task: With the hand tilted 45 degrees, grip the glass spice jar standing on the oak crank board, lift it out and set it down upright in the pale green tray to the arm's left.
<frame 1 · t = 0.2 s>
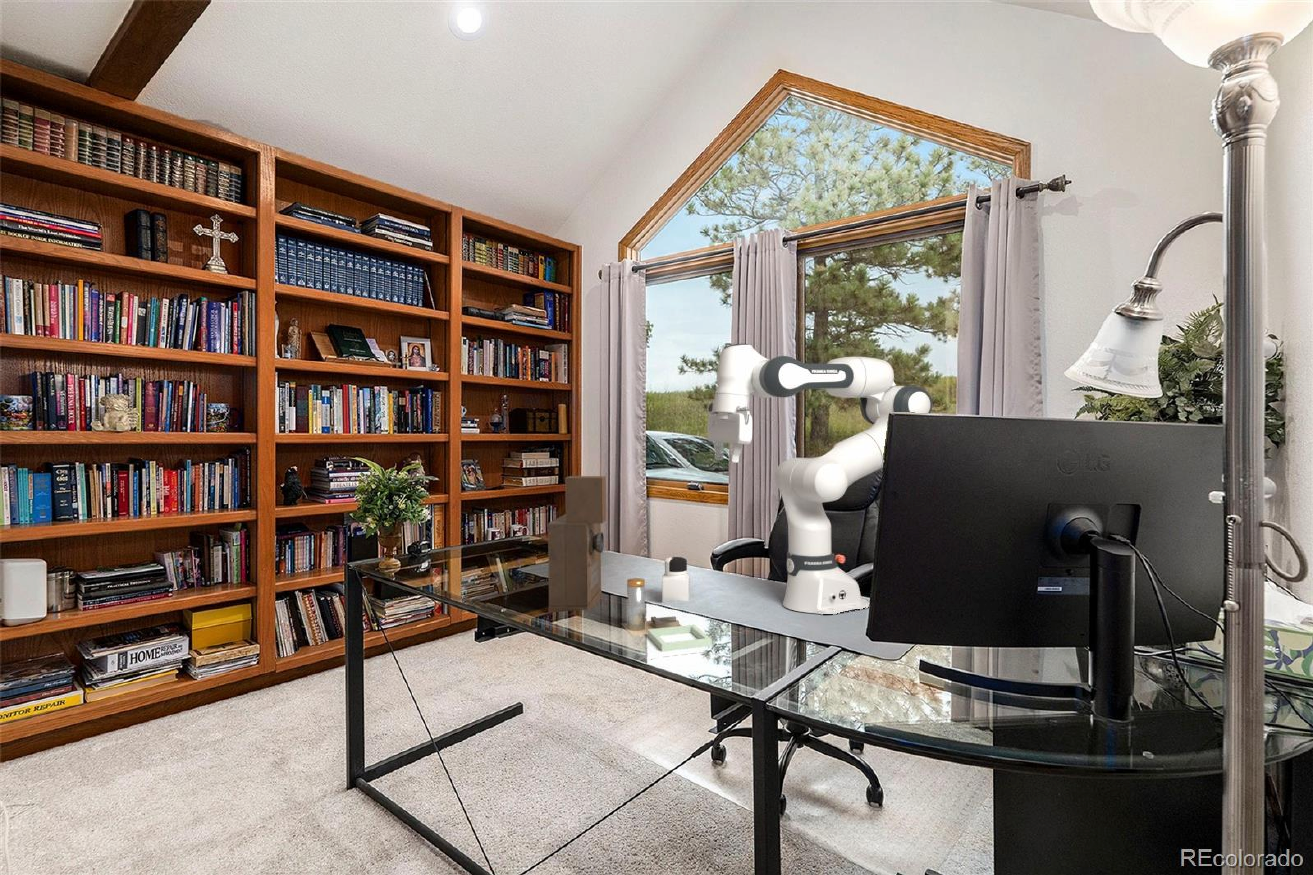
hand: (726, 461, 167), 39 cm above the table, tool pointing down, fingers open, 8 cm apart
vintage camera: (578, 606, 178), on the table
glass spice jar: (636, 628, 152), point 1 cm above the table, touching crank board
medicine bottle: (676, 602, 180), on the table
tray: (679, 646, 143), on the table
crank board: (653, 631, 154), on the table
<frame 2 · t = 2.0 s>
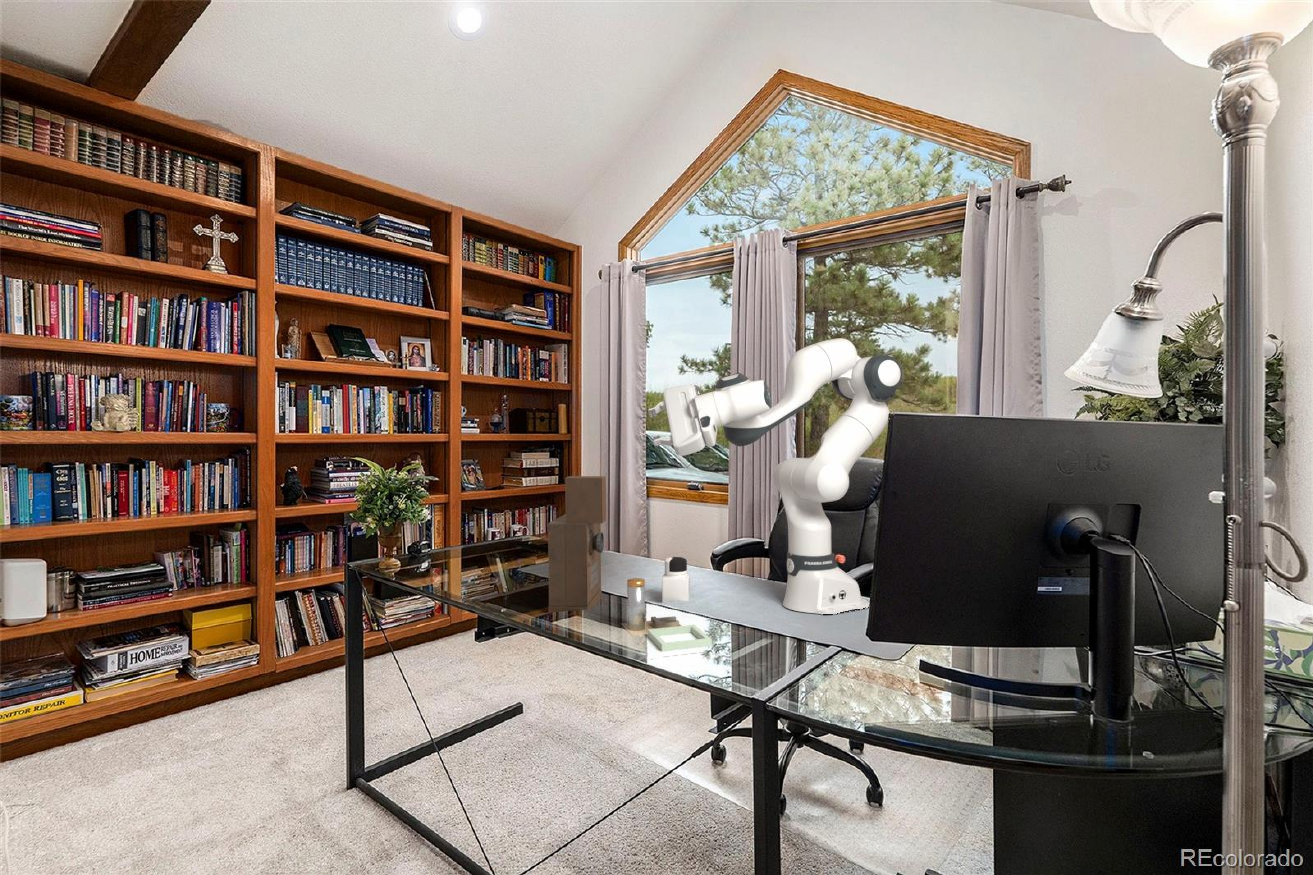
hand: (651, 427, 162), 48 cm above the table, tool horizontal, fingers open, 8 cm apart
nothing on the table moved.
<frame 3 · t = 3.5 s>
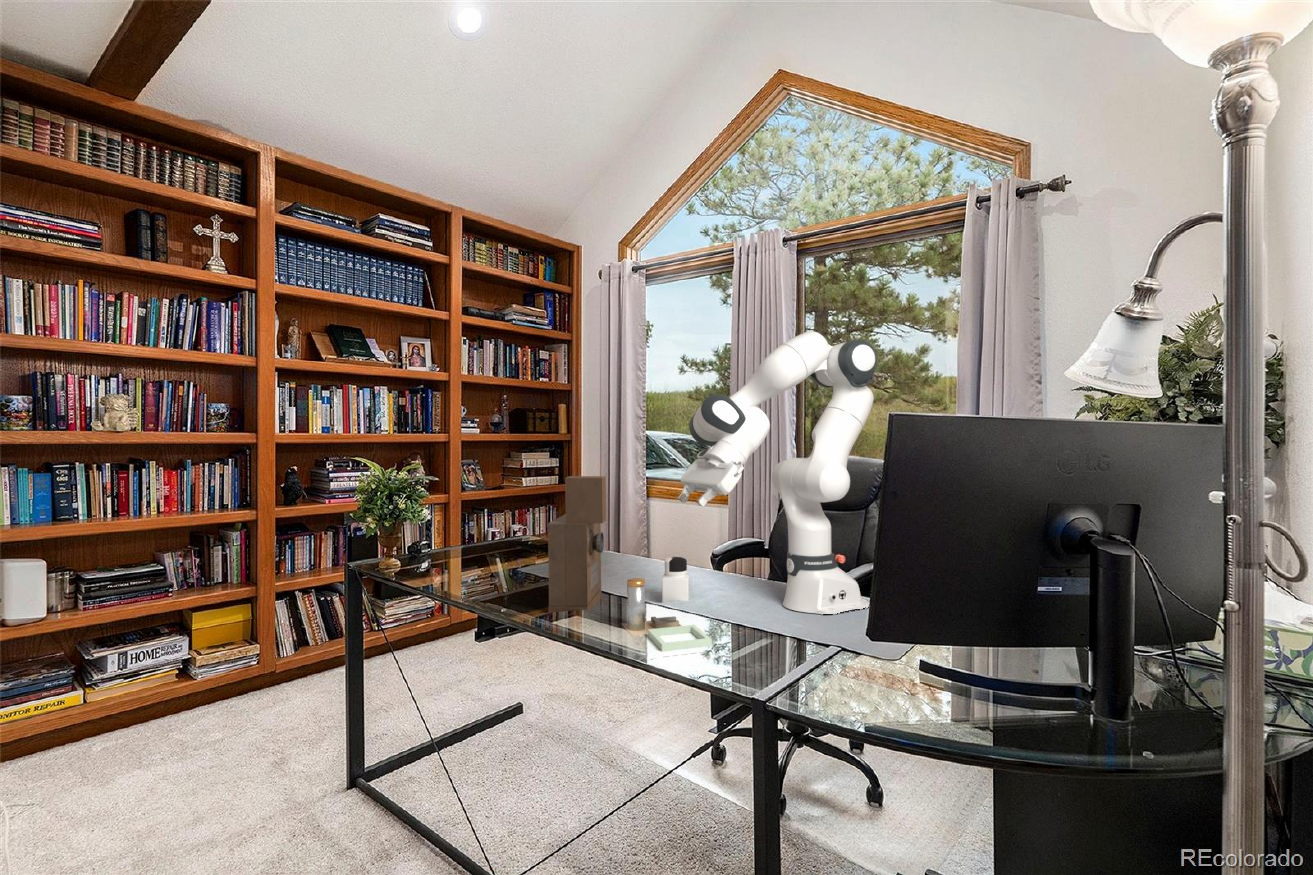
hand: (689, 502, 160), 29 cm above the table, tool tilted 45°, fingers open, 8 cm apart
nothing on the table moved.
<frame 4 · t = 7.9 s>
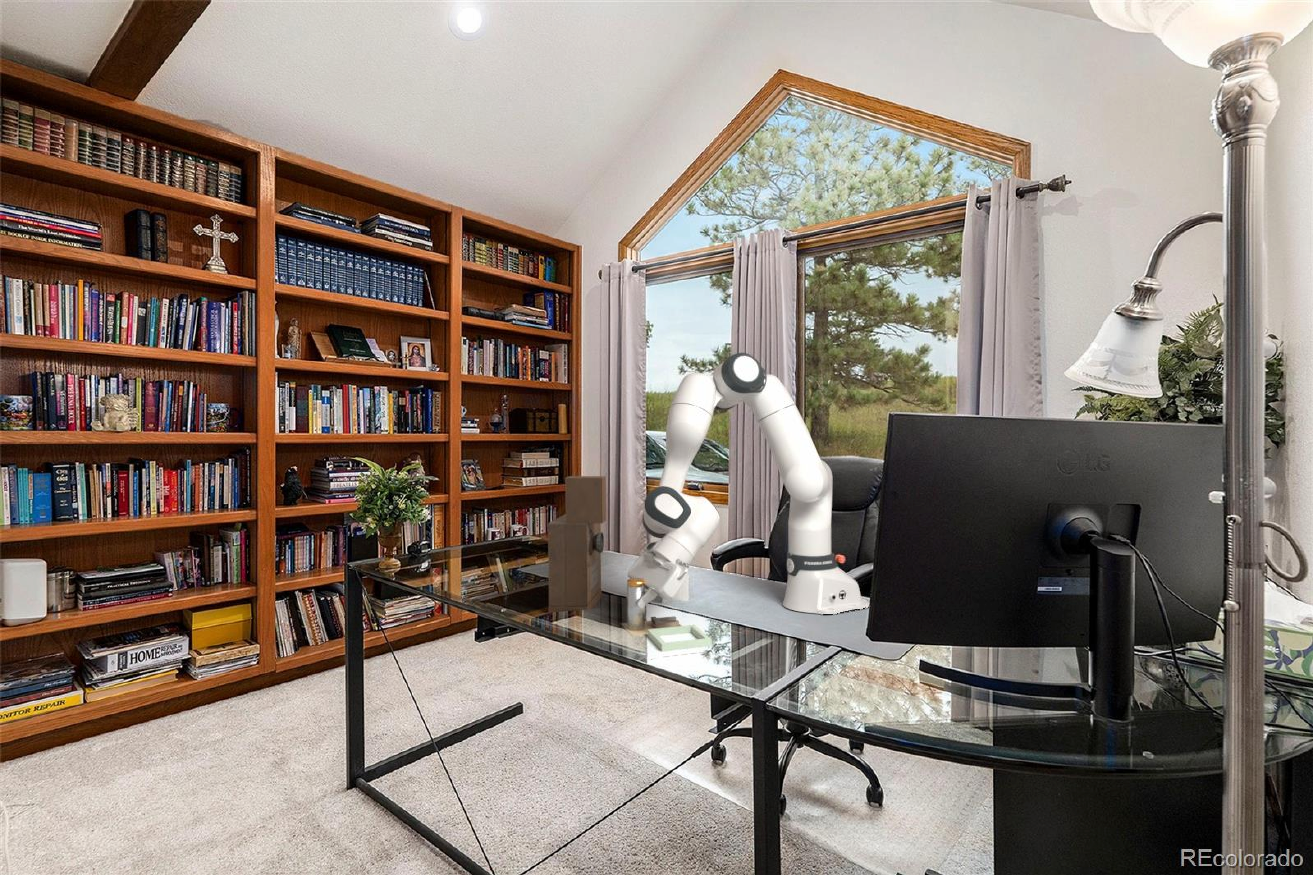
hand: (633, 603, 152), 7 cm above the table, tool tilted 45°, fingers closed on glass spice jar, 4 cm apart
glass spice jar: (636, 628, 152), point 1 cm above the table, touching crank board, gripper
everything else where it was.
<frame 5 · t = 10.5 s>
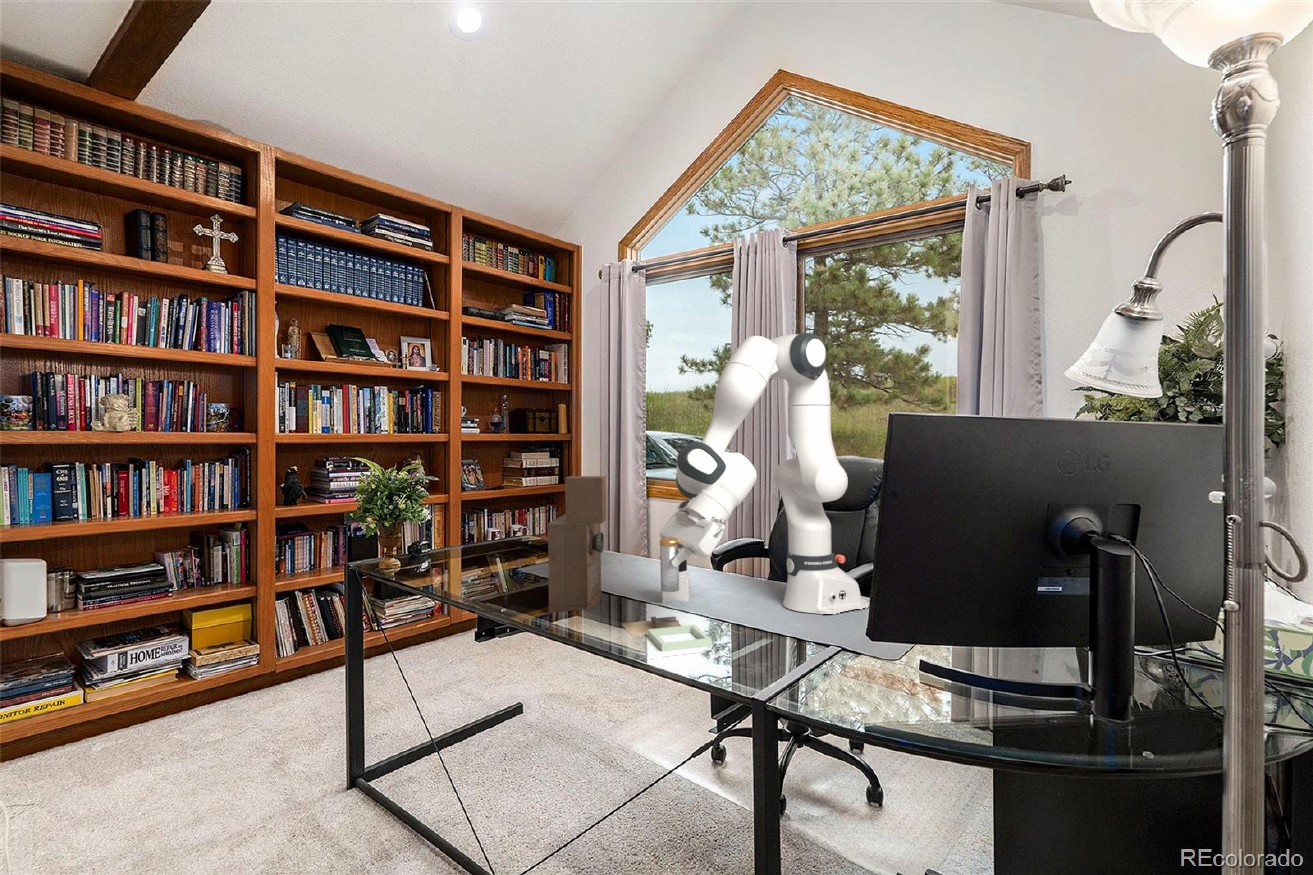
hand: (667, 562, 145), 18 cm above the table, tool tilted 45°, fingers closed on glass spice jar, 4 cm apart
glass spice jar: (670, 589, 145), point 12 cm above the table, touching gripper
everything else where it was.
when the fingers open (8 cm above the table, at t = 12.9 s): glass spice jar drops 1 cm, resting on tray.
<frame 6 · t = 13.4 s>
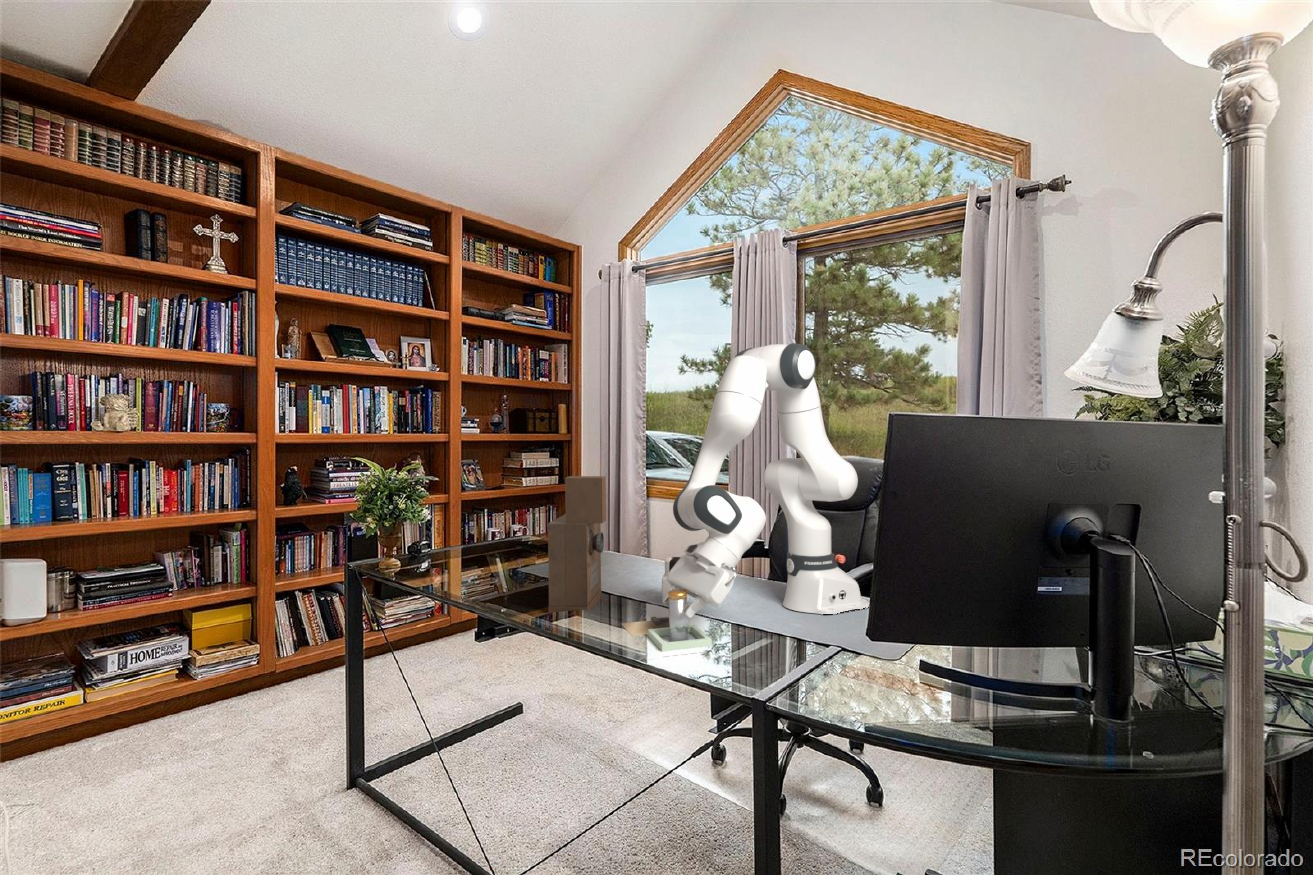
hand: (676, 610, 143), 8 cm above the table, tool tilted 45°, fingers open, 8 cm apart
glass spice jar: (679, 643, 143), point 1 cm above the table, touching tray
everything else where it was.
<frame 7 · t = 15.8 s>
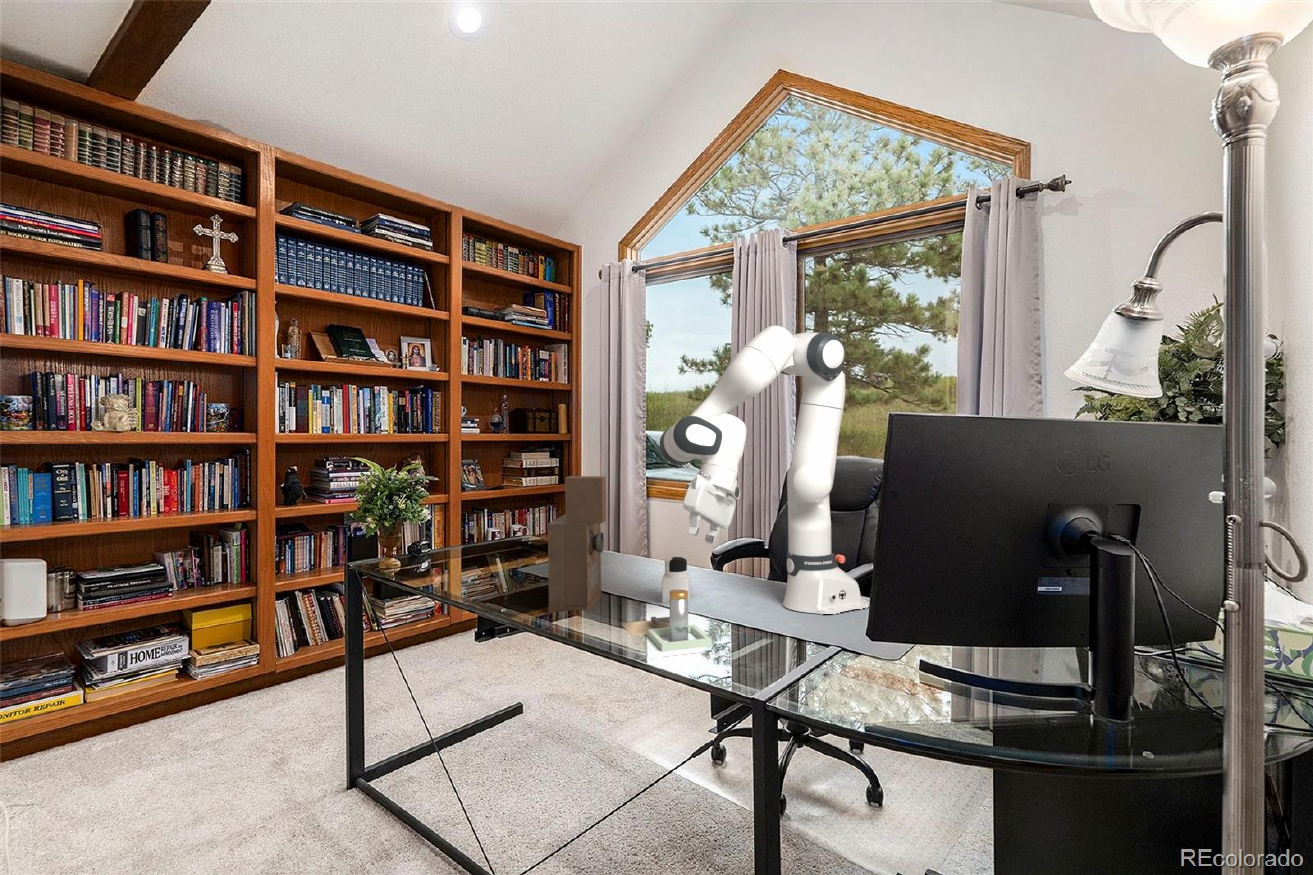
hand: (700, 538, 152), 22 cm above the table, tool tilted 20°, fingers open, 8 cm apart
nothing on the table moved.
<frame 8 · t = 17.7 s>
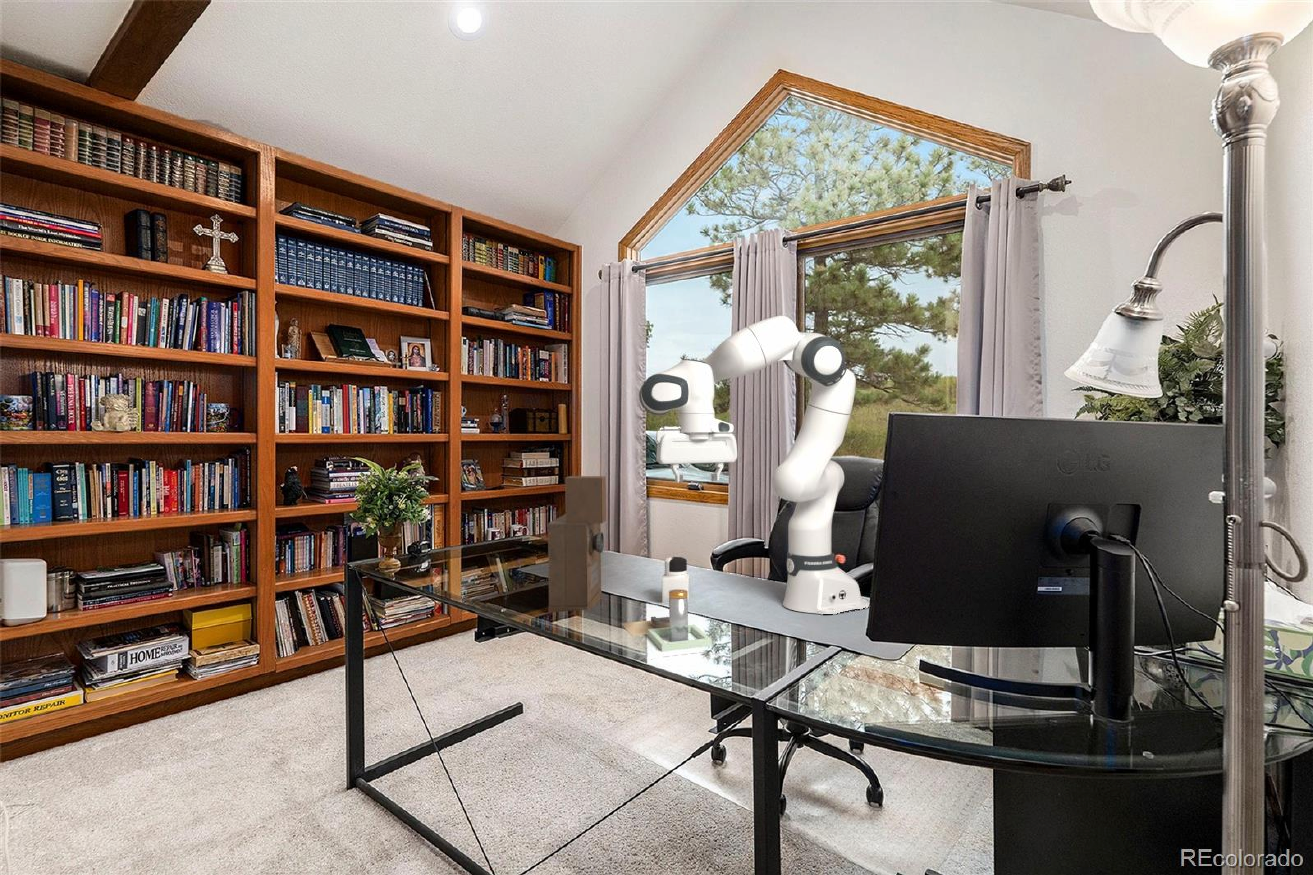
hand: (697, 481, 163), 34 cm above the table, tool pointing down, fingers open, 8 cm apart
nothing on the table moved.
at the end: glass spice jar inside the target area on the tray (0.1 cm from its centre), point 0.6 cm above the tray's base; glass spice jar tilted 1°; the gripper is holding nothing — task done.
